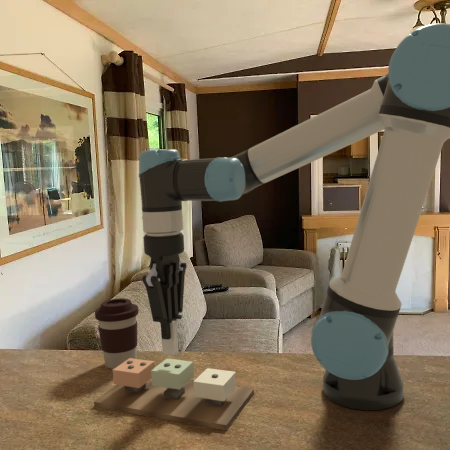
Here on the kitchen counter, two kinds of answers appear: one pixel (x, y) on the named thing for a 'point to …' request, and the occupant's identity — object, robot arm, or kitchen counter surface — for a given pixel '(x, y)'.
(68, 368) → the kitchen counter surface
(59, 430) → the kitchen counter surface
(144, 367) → the tile three
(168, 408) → the key board
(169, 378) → the tile two
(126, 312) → the coffee cup
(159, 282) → the robot arm
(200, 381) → the tile one
